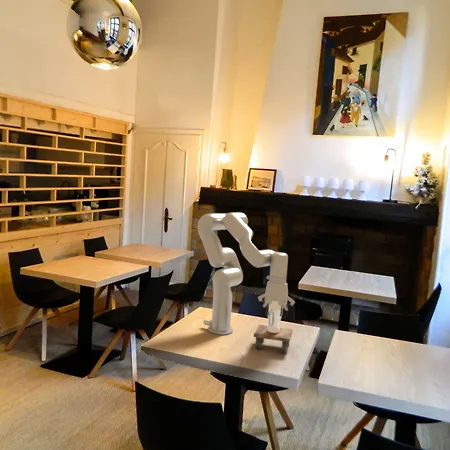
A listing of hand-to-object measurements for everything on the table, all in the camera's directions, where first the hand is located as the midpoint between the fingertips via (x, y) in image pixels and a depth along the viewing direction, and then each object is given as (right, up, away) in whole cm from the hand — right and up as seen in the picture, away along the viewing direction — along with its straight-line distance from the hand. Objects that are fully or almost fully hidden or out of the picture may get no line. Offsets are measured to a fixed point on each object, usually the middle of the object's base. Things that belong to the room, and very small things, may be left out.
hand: (274, 316), depth 202 cm
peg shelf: (-1, -14, +1) cm, 15 cm away
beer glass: (-1, -7, +1) cm, 7 cm away
